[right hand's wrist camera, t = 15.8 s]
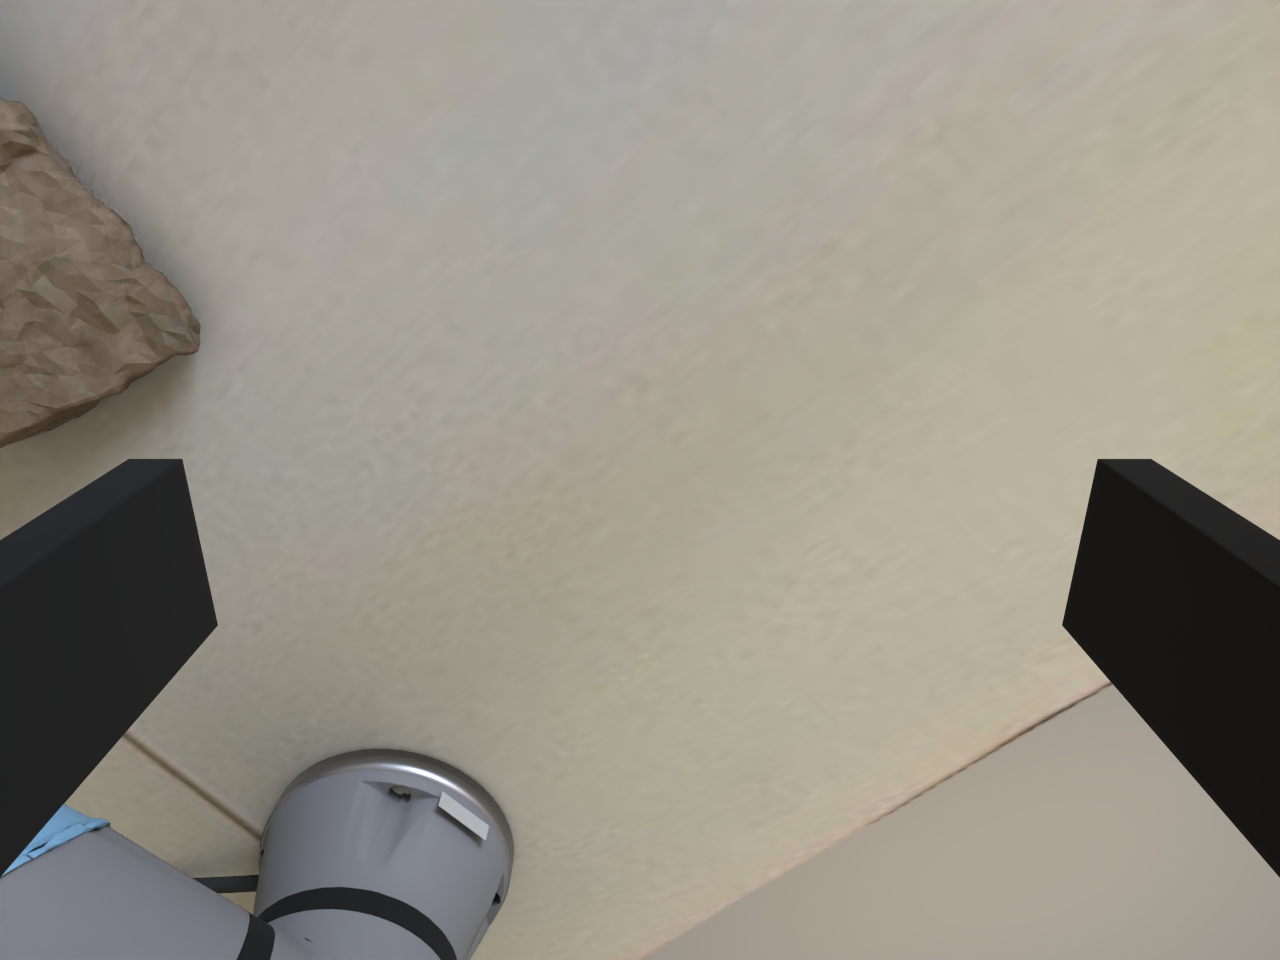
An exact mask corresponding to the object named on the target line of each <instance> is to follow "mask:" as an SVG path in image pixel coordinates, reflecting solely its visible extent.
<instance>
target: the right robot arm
mask: <svg viewBox="0 0 1280 960" xmlns="http://www.w3.org/2000/svg"><path fill="white" fill-rule="evenodd" d="M217 626H218V624H217V619H216V615H215V610H214V605H213V601H212V596H211V591H210V587H209V582H208V577H207V573H206V568H205V563H204V559H203V554H202V549H201V545H200V540H199V535H198V531H197V526H196V521H195V517H194V512H193V507H192V502H191V498H190V493H189V488H188V484H187V479H186V474H185V470H184V465H183V460H182V459H128V460H127V461H125V462H123V463H122V464H120V465H119V466H117V467H116V468H114V469H112V470H111V471H109V472H108V473H106V474H104V475H103V476H101V477H100V478H98V479H97V480H95V481H93V482H92V483H90V484H89V485H87V486H85V487H84V488H82V489H81V490H79V491H78V492H76V493H74V494H73V495H71V496H70V497H68V498H66V499H65V500H63V501H62V502H60V503H59V504H57V505H55V506H54V507H52V508H51V509H49V510H48V511H46V512H44V513H43V514H41V515H40V516H38V517H36V518H35V519H33V520H32V521H30V522H29V523H27V524H25V525H24V526H22V527H21V528H19V529H17V530H16V531H14V532H13V533H11V534H10V535H8V536H6V537H5V538H3V539H2V540H0V960H470V958H471V957H472V955H473V953H474V952H475V950H476V948H477V947H478V945H479V943H480V942H481V940H482V938H483V936H484V935H485V933H486V931H487V929H488V927H489V926H490V924H491V923H492V922H493V920H494V918H495V917H496V915H497V913H498V912H499V910H500V909H501V907H502V905H503V903H504V901H505V898H506V895H507V892H508V887H509V882H510V876H511V871H512V865H513V857H514V846H513V839H512V834H511V830H510V827H509V824H508V822H507V820H506V818H505V816H504V814H503V812H502V810H501V809H500V807H499V806H498V804H497V803H496V802H495V800H494V799H493V798H492V797H491V796H490V795H489V793H488V792H487V791H486V790H485V789H484V788H482V787H481V786H480V785H479V784H478V783H477V782H476V781H474V780H473V779H472V778H470V777H469V776H467V775H466V774H464V773H463V772H461V771H460V770H458V769H456V768H454V767H452V766H450V765H448V764H446V763H444V762H441V761H439V760H437V759H434V758H431V757H428V756H424V755H421V754H417V753H412V752H407V751H401V750H390V749H369V750H359V751H353V752H348V753H344V754H339V755H336V756H334V757H331V758H328V759H326V760H323V761H321V762H319V763H317V764H315V765H313V766H312V767H310V768H308V769H307V770H306V771H304V772H303V773H301V774H300V775H299V776H298V777H297V778H296V779H294V780H293V781H292V782H291V784H290V785H289V786H288V787H287V788H286V790H285V791H284V793H283V794H282V795H281V797H280V799H279V801H278V803H277V804H276V806H275V808H274V810H273V812H272V814H271V816H270V817H269V819H268V821H267V823H266V825H265V828H264V831H263V834H262V838H261V843H260V859H259V872H260V873H259V875H247V876H230V877H210V878H191V877H189V876H188V875H186V874H184V873H183V872H181V871H180V870H178V869H176V868H175V867H173V866H171V865H170V864H168V863H167V862H165V861H163V860H162V859H160V858H158V857H157V856H155V855H154V854H152V853H150V852H149V851H147V850H146V849H144V848H142V847H141V846H139V845H137V844H136V843H134V842H133V841H131V840H129V839H128V838H126V837H125V836H123V835H121V834H120V833H118V832H116V831H115V830H113V829H112V828H110V823H109V822H108V821H106V820H105V819H101V818H91V817H89V816H86V815H84V814H82V813H80V812H78V811H76V810H74V809H72V808H71V807H69V806H67V805H65V804H64V803H65V802H66V801H67V799H68V798H69V797H70V796H71V795H72V794H73V793H74V791H75V790H76V789H77V788H78V787H79V786H80V784H81V783H82V782H83V781H84V780H85V779H86V777H87V776H88V775H89V774H90V773H91V772H92V770H93V769H94V768H95V767H96V766H97V765H98V764H99V762H100V761H101V760H102V759H103V758H104V757H105V755H106V754H107V753H108V752H109V751H110V750H111V748H112V747H113V746H114V745H115V744H116V743H117V741H118V740H119V739H120V738H121V737H122V736H123V735H124V733H125V732H126V731H127V730H128V729H129V728H130V726H131V725H132V724H133V723H134V722H135V721H136V719H137V718H138V717H139V716H140V715H141V714H142V713H143V711H144V710H145V709H146V708H147V707H148V706H149V704H150V703H151V702H152V701H153V700H154V699H155V697H156V696H157V695H158V694H159V693H160V692H161V690H162V689H163V688H164V687H165V686H166V685H167V684H168V682H169V681H170V680H171V679H172V678H173V677H174V675H175V674H176V673H177V672H178V671H179V670H180V668H181V667H182V666H183V665H184V664H185V663H186V662H187V660H188V659H189V658H190V657H191V656H192V655H193V653H194V652H195V651H196V650H197V649H198V648H199V646H200V645H201V644H202V643H203V642H204V641H205V639H206V638H207V637H208V636H209V635H210V634H211V633H212V631H213V630H214V629H215V628H216V627H217ZM1062 626H1063V627H1064V628H1065V629H1066V630H1067V631H1068V633H1069V634H1070V635H1071V636H1072V637H1073V638H1074V639H1075V641H1076V642H1077V643H1078V644H1079V645H1080V646H1081V648H1082V649H1083V650H1084V651H1085V652H1086V653H1087V655H1088V656H1089V657H1090V658H1091V659H1092V660H1093V662H1094V663H1095V664H1096V665H1097V666H1098V667H1099V668H1100V670H1101V671H1102V672H1103V673H1104V674H1105V675H1106V677H1107V678H1108V679H1109V680H1110V681H1111V682H1112V684H1113V685H1114V686H1115V687H1116V688H1117V689H1118V690H1119V692H1120V693H1121V694H1122V695H1123V696H1124V697H1125V699H1126V700H1127V701H1128V702H1129V703H1130V704H1131V706H1132V707H1133V708H1134V709H1135V710H1136V711H1137V713H1138V714H1139V715H1140V716H1141V717H1142V718H1143V719H1144V721H1145V722H1146V723H1147V724H1148V725H1149V726H1150V728H1151V729H1152V730H1153V731H1154V732H1155V733H1156V735H1157V736H1158V737H1159V738H1160V739H1161V740H1162V741H1163V743H1164V744H1165V745H1166V746H1167V747H1168V748H1169V750H1170V751H1171V752H1172V753H1173V754H1174V755H1175V756H1176V758H1177V759H1178V760H1179V761H1180V762H1181V764H1182V765H1183V766H1184V767H1185V768H1186V769H1187V770H1188V772H1189V773H1190V774H1191V775H1192V776H1193V777H1194V779H1195V780H1196V781H1197V782H1198V783H1199V784H1200V785H1201V787H1202V788H1203V789H1204V790H1205V791H1206V793H1207V794H1208V795H1209V796H1210V797H1211V798H1212V799H1213V801H1214V802H1215V803H1216V804H1217V805H1218V806H1219V808H1220V809H1221V810H1222V811H1223V812H1224V813H1225V815H1226V816H1227V817H1228V818H1229V819H1230V820H1231V821H1232V823H1233V824H1234V825H1235V826H1236V827H1237V828H1238V830H1239V831H1240V832H1241V833H1242V834H1243V835H1244V837H1245V838H1246V839H1247V840H1248V841H1249V842H1250V843H1251V845H1252V846H1253V847H1254V848H1255V849H1256V850H1257V852H1258V853H1259V854H1260V855H1261V856H1262V857H1263V859H1264V860H1265V861H1266V862H1267V863H1268V864H1269V865H1270V867H1271V868H1272V869H1273V870H1274V871H1275V872H1276V874H1277V875H1278V876H1279V877H1280V540H1278V539H1277V538H1275V537H1274V536H1272V535H1270V534H1269V533H1267V532H1266V531H1264V530H1263V529H1261V528H1259V527H1258V526H1256V525H1255V524H1253V523H1251V522H1250V521H1248V520H1247V519H1245V518H1244V517H1242V516H1240V515H1239V514H1237V513H1236V512H1234V511H1232V510H1231V509H1229V508H1228V507H1226V506H1225V505H1223V504H1221V503H1220V502H1218V501H1217V500H1215V499H1213V498H1212V497H1210V496H1209V495H1207V494H1206V493H1204V492H1202V491H1201V490H1199V489H1198V488H1196V487H1195V486H1193V485H1191V484H1190V483H1188V482H1187V481H1185V480H1183V479H1182V478H1180V477H1179V476H1177V475H1176V474H1174V473H1172V472H1171V471H1169V470H1168V469H1166V468H1164V467H1163V466H1161V465H1160V464H1158V463H1157V462H1155V461H1153V460H1152V459H1098V460H1097V465H1096V470H1095V474H1094V479H1093V484H1092V488H1091V493H1090V498H1089V502H1088V507H1087V512H1086V516H1085V521H1084V526H1083V531H1082V535H1081V540H1080V545H1079V549H1078V554H1077V559H1076V563H1075V568H1074V573H1073V577H1072V582H1071V587H1070V591H1069V596H1068V601H1067V605H1066V610H1065V615H1064V619H1063V624H1062ZM253 891H257V892H256V898H255V905H254V912H253V915H252V914H250V913H249V912H247V911H246V910H245V909H243V908H241V907H240V906H238V905H236V904H235V903H233V902H231V901H230V900H228V899H226V898H225V897H223V896H221V895H220V894H218V893H235V892H253Z"/></svg>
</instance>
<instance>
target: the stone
mask: <svg viewBox="0 0 1280 960" xmlns="http://www.w3.org/2000/svg"><path fill="white" fill-rule="evenodd" d="M199 333H200V324H199V322H198V320H197V319H196V318H195V317H194V316H193V315H192V313H191V308H190V307H189V305H188V304H187V302H186V300H185V299H184V297H183V296H182V294H181V293H180V292H179V291H178V290H177V289H176V288H175V287H174V286H173V285H172V284H171V283H170V282H169V281H168V279H167V278H166V277H165V276H164V275H163V274H162V273H161V272H160V271H159V270H157V269H156V268H154V267H153V266H151V265H149V263H148V262H147V261H146V259H145V258H144V256H143V253H142V250H141V248H140V246H139V245H138V243H137V242H136V241H135V238H134V235H133V232H132V229H131V226H130V225H129V224H128V223H127V222H126V221H124V220H123V219H122V218H121V217H120V216H119V215H118V214H117V213H116V212H115V211H113V210H111V209H109V208H108V207H106V206H105V204H104V203H103V202H101V201H99V200H98V199H96V198H95V197H94V196H93V195H92V194H91V193H90V192H89V191H88V190H87V189H86V188H85V187H84V186H83V185H82V184H81V183H80V182H79V181H78V180H77V179H76V177H75V175H74V173H73V171H72V169H71V167H70V165H69V162H68V161H67V160H66V159H65V158H63V157H62V156H61V155H60V154H59V153H58V152H57V151H56V150H55V149H54V148H53V146H52V145H51V144H50V143H49V141H48V140H47V139H46V137H45V136H44V134H43V133H42V131H41V128H40V126H39V124H38V122H37V120H36V118H35V116H34V115H33V114H32V112H31V111H30V110H29V109H28V108H27V107H26V105H24V104H23V103H21V102H16V101H5V100H2V99H1V98H0V448H2V447H4V446H6V445H8V444H11V443H14V442H17V441H20V440H23V439H26V438H29V437H32V436H34V435H37V434H39V433H41V432H44V431H49V430H52V429H54V428H56V427H58V426H60V425H62V424H63V423H65V422H67V421H69V420H71V419H73V418H77V417H80V416H81V415H83V414H84V413H86V412H87V411H89V410H91V409H92V408H94V407H96V405H97V404H98V403H99V401H100V400H101V398H105V397H109V396H112V395H116V394H120V393H122V392H123V390H124V389H126V388H128V386H129V385H130V383H131V382H133V381H135V380H137V379H139V378H141V377H143V376H145V375H147V374H148V373H150V372H151V371H152V370H153V369H154V368H155V367H156V366H158V365H160V364H162V363H164V362H165V361H167V360H168V359H170V358H171V357H173V356H174V355H176V354H177V355H189V354H193V353H195V352H197V351H198V350H199V345H200V337H199Z"/></svg>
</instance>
